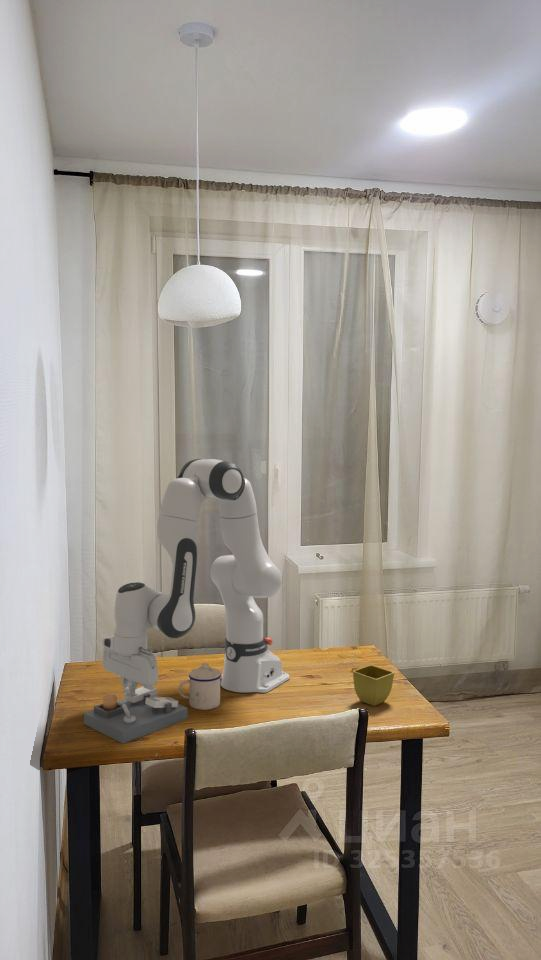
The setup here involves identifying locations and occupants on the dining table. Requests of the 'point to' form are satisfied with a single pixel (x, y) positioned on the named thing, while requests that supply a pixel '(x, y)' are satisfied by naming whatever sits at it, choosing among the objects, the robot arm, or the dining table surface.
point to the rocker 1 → (141, 693)
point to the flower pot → (373, 684)
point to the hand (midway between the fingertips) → (129, 694)
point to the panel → (133, 719)
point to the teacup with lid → (203, 687)
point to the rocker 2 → (160, 702)
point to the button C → (109, 701)
